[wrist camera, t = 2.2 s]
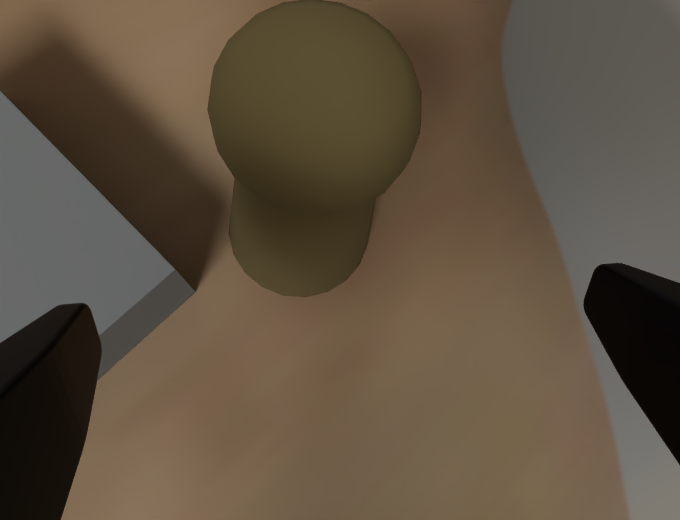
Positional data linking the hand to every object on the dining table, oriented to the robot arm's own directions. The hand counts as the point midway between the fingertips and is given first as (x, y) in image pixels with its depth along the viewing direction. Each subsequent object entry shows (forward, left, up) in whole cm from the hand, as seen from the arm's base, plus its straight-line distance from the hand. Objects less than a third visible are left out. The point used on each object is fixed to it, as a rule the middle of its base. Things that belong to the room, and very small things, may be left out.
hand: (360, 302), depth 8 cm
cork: (+4, -3, -12) cm, 13 cm away
